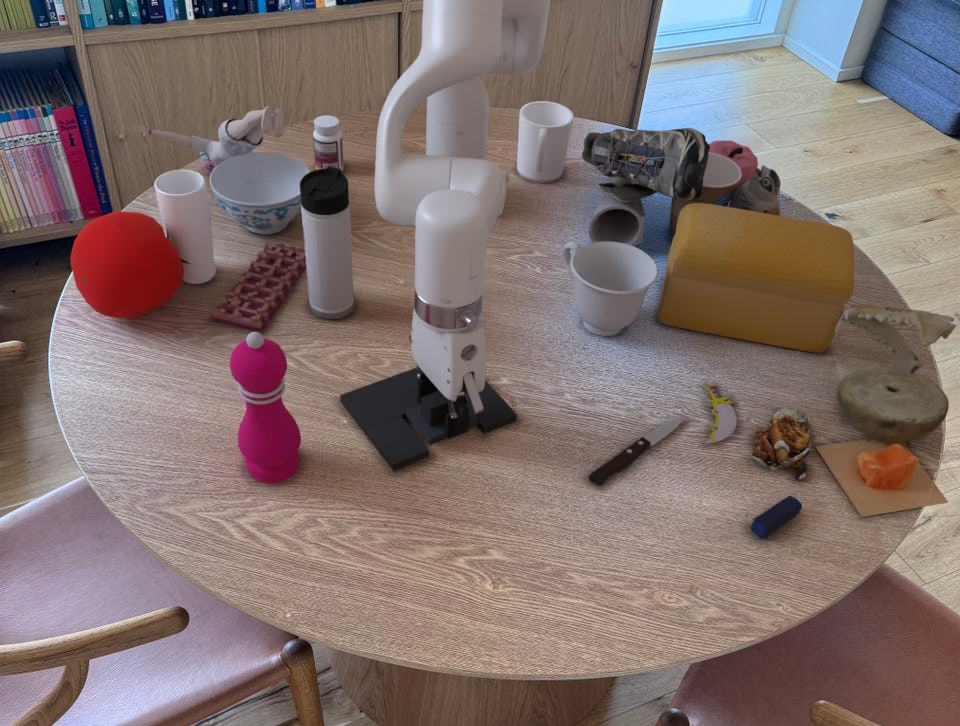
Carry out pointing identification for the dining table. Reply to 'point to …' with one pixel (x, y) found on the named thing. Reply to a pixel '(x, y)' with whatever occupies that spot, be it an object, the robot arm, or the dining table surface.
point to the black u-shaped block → (386, 414)
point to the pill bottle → (327, 143)
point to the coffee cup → (710, 187)
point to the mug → (543, 140)
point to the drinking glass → (188, 221)
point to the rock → (880, 476)
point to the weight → (892, 403)
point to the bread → (757, 277)
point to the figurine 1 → (229, 136)
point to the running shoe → (649, 162)
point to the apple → (737, 157)
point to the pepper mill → (265, 410)
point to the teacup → (608, 283)
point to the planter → (618, 219)
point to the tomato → (126, 265)
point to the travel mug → (327, 242)
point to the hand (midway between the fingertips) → (442, 416)
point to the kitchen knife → (633, 452)
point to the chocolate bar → (262, 287)
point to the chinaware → (259, 189)
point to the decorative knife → (721, 416)
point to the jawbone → (888, 335)
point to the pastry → (784, 442)
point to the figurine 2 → (758, 193)
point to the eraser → (776, 517)
